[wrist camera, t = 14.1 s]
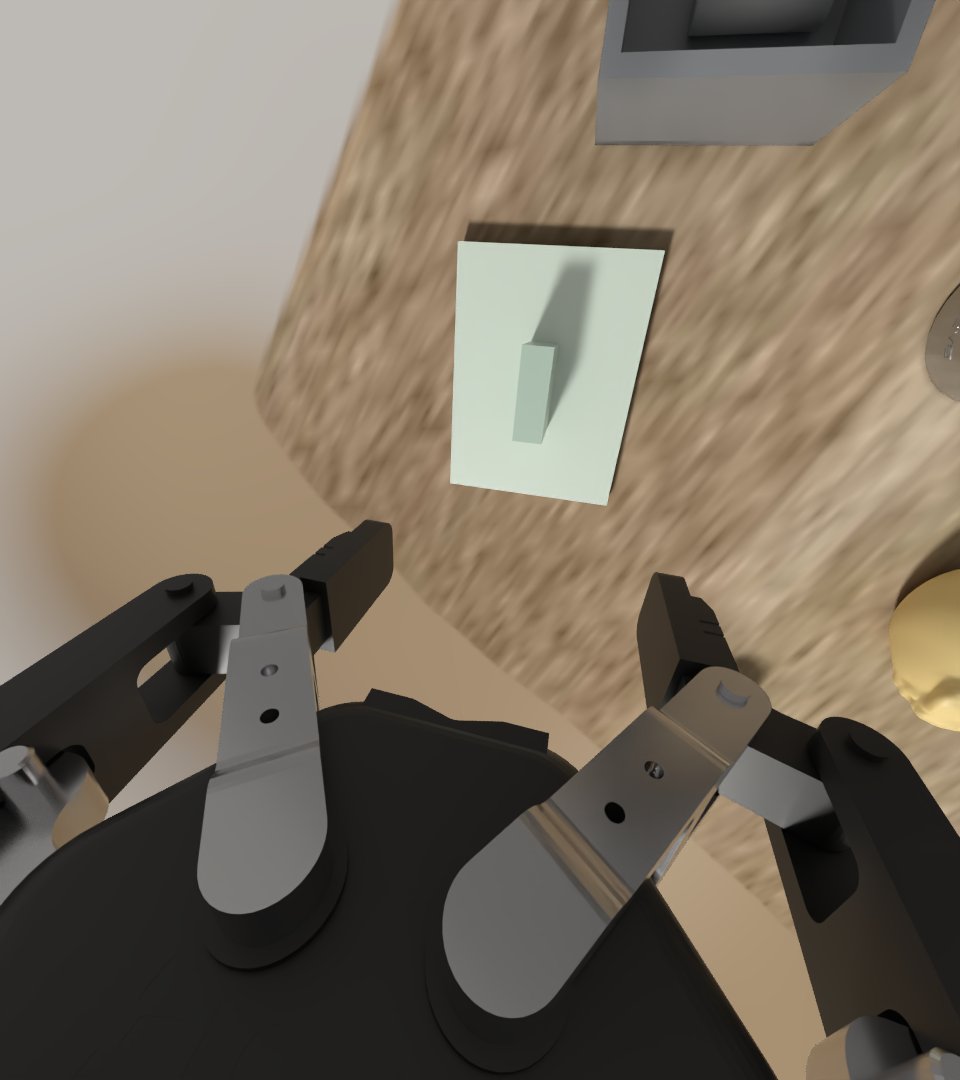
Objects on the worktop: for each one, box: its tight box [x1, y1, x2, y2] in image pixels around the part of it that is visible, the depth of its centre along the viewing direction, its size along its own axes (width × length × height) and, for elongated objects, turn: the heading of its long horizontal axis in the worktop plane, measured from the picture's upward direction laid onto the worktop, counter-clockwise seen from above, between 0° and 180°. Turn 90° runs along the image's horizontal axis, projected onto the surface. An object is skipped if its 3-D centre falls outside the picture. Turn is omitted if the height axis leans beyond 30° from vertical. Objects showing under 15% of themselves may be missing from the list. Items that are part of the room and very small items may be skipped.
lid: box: [450, 241, 665, 506], centre depth 30 cm, size 13×17×7 cm
